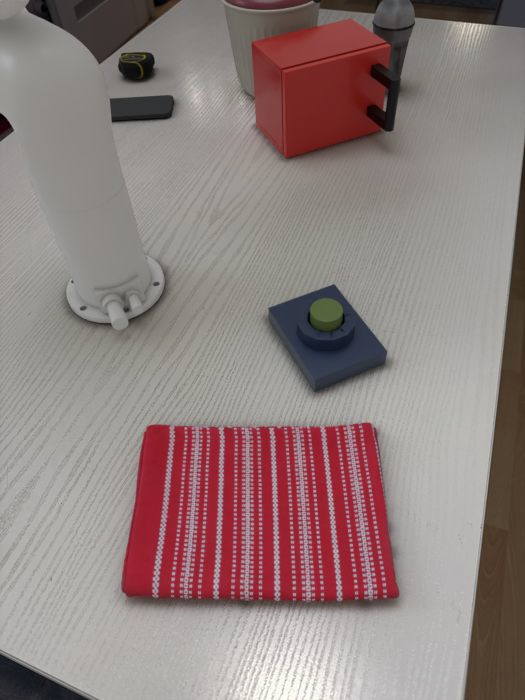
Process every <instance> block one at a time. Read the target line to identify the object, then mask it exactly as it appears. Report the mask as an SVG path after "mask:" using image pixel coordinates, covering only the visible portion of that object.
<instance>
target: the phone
mask: <svg viewBox="0 0 525 700" xmlns="http://www.w3.org/2000/svg"><path fill="white" fill-rule="evenodd" d="M174 102H175V99H174V96H173V95H171V94H163V95H161V94H160V95H146V96H131V97H130V96H129V97H127V96H126V97H112V98H111V97H110V107H111V120H112V121H127V120H143V119H158V118H159V119H161V118H168V117H170V116H171V115H172V114H173V113H172V112H173V107H174Z"/></svg>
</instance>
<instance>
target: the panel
mask: <svg viewBox="0 0 525 700" xmlns="http://www.w3.org/2000/svg"><path fill="white" fill-rule="evenodd" d="M324 298H329V299H333V300H336V301H337V302H339V303H340V304H341V306H342V308H343V316H342V323H341V325H340V327H339V328H338V329H336V330H334V331H331V332H321V331H318V330H316V329H315V328H314V327H313V326H312V325H311V323H310V308H311V305H312V304H313V303H314V302H315V301H317V300H319V299H324ZM267 310H268V312H267V313H268V321H269V323H270V324H271V326H272V327H273V329H274V331H275V332H276V334H277V336H278V337H279V338H280V340H281V342H282V343H283V345H284V346H285V348H286V349H287V351H288V353H289V354H290V356H291V357H292V359H293V360H294V362H295V364H296V365H297V368H298V369H299V370H300V371H301V373H302V374H303V376H304V378H305V380H306V381H307V383H308V384H309V386H310V388H311V389H312V391H313V392H314V393H315V392H318V391H321V390H323V389H326V388H328V387H330V386H333V385H335V384H337V383H340V382H343V381H345V380H348V379H350V378H353V377H355V376H357V375H359V374H362V373H365V372H367V371H370V370H372V369H375V368H377V367H379V366H382V365H385V364H386V359H387V354H388V350H387V349H386V348H385V346H384V345H383V344H382V342H381V341H380V340H379V338H377V336H376V335H375V334H374V333H373V330H371V328H370V327H369V326H368V325H367V323H366V322H365V321H364V320H363V319H362V317H361V316H360V314H359V313H358V312H357V311H356V309H355V308H354V307H353V306H352V304H351V303H350V302H349V300H347V298H346V296H344V293H342V292H341V291H340V289H339V288H338V286H337V285H336V284H335V283H333V284H331V285H328V286H324V287H323V288H319V289H317V290H313V291H311V292H308V293H305V294H303V295H299V296H297V297H294V298H291V299H288V300H286V301H284V302H283V301H282V302H280V303H278V304H275V305H272V306H269V307H268V309H267Z"/></svg>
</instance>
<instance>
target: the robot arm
mask: <svg viewBox="0 0 525 700" xmlns="http://www.w3.org/2000/svg"><path fill="white" fill-rule="evenodd" d="M312 1H313V2H315V3H320V4H321V3H322V1H323V0H312ZM29 2H30V0H0V114H1V115H3V117H5V118H6V119H7V121H8V122H9V124H10V125H11V127H12V129H13V131H14V133H15V135H16V138H17V139H16V140H17V142H18V145H19V150H20V155H21V158H22V162H23V167H24V169H25V173H26V175H27V178H28V180H29V183H30V186H31V188H32V191H33V193H34V195H35V197H36V199H37V201H38V203H39V206H40V208H41V210H42V212H43V215H44V217H45V220H46V222H47V224H48V226H49V228H50V232H51V233H52V235H53V238H54V240H55V241H56V245H57V247H58V249H59V251H60V254H61V256H62V258H63V261H64V264H65V265H66V268H67V271H68V273H69V275H70V278H69V280H68V282H67V286H66V289H65V291H66V292H65V293H66V294H65V295H66V300H67V302H68V304H69V306H70V308H71V309H72V311H73V312H74V313H75V314H76V315H77V316H78V317H80V318H82V319H84V320H86V321H89V322H93V323H99V324H111V326H112V328H113V329H115V330H116V331H121V330H124V329H126V328H127V327H128V326H129V320H131V319H133V318H136V317H138V316H140V315H142V314H143V313H145V312H146V311H148V310H150V308H152V307H153V306H154V305H155V304H156V303H157V302H158V301H159V299H160V298H161V296H162V295H163V292H164V289H165V285H166V282H165V281H166V280H165V276H164V271H163V269H162V266H161V265H160V264H159V262H158V261H156V259H154V258H153V257H151V256H150V255H147V254H146V251H145V247H144V244H143V240H142V237H141V233H140V229H139V226H138V222H137V219H136V215H135V212H134V208H133V204H132V201H131V198H130V194H129V190H128V187H127V183H126V180H125V176H124V172H123V169H122V165H121V161H120V159H119V158H120V157H119V154H118V149H117V144H116V140H115V136H114V135H115V134H114V129H113V120H111V107H110V98H111V96H110V91H109V86H108V81H107V79H106V76H105V73H104V71H103V69H102V67H101V65H100V64H99V62H98V60H97V58H96V57H95V56H94V54H93V53H92V52H91V51H90V49H89V48H87V47H86V45H84V43H83V42H81V41H80V40H79V39H78V38H77V37H75V36H74V35H73V34H71V33H70V32H69V31H67V30H65V29H63V28H61V27H60V26H58V25H55V24H54V23H52V22H50V21H48V20H46V19H44V18H42V17H39V16H38V15H35V14H33V13H30V12H29V11H28V9H27V8H26V7H27V5H28V4H29Z"/></svg>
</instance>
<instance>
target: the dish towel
mask: <svg viewBox="0 0 525 700" xmlns="http://www.w3.org/2000/svg"><path fill="white" fill-rule="evenodd" d="M145 428H146V429H145V431H144V432H143V435H142V436H143V437H142V440H141V441H142V442H141V447H140V451H139V458H138V459H139V460H138V468H137V475H136V487H135V498H134V499H135V500H134V506H133V511H132V516H131V522H130V528H129V533H128V539H127V544H126V549H125V556H124V562H123V566H122V575H121V592H122V593H123V594H125V596H126V597H129V598H143V597H144V598H145V597H147V598H154V599H172V600H173V599H179V600H194V599H196V600H209V599H210V600H232V601H235V600H239V601H248V602H249V601H250V602H251V601H274V602H303V603H304V602H305V603H314V602H321V603H323V602H345V601H354V602H355V601H377V600H388V599H389V600H390V599H398V598H399V597H400V589H399V586H398V582H397V579H396V571H395V563H394V557H393V551H392V549H393V547H392V542H391V541H392V540H391V532H390V527H389V526H390V525H389V519H388V517H389V516H388V507H387V500H386V499H387V498H386V491H385V484H384V475H383V467H382V461H381V453H380V446H379V445H380V444H379V441H378V431H377V428H376V427H374V426H373V423H371V422H366V421H365V422H356V423H347V424H346V423H345V424H340V425H333V426H332V425H331V426H325V425H320V426H317V425H315V426H313V425H311V426H310V425H296V426H295V425H289V426H285V425H284V426H283V425H276V426H275V425H273V426H270V425H269V426H267V425H264V426H262V425H261V426H260V425H249V426H248V425H247V426H243V425H242V426H233V425H232V426H231V425H228V426H217V425H215V426H213V425H212V426H211V425H199V426H198V425H183V424H179V425H176V424H174V425H172V424H149V425H147V426H146V427H145Z"/></svg>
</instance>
